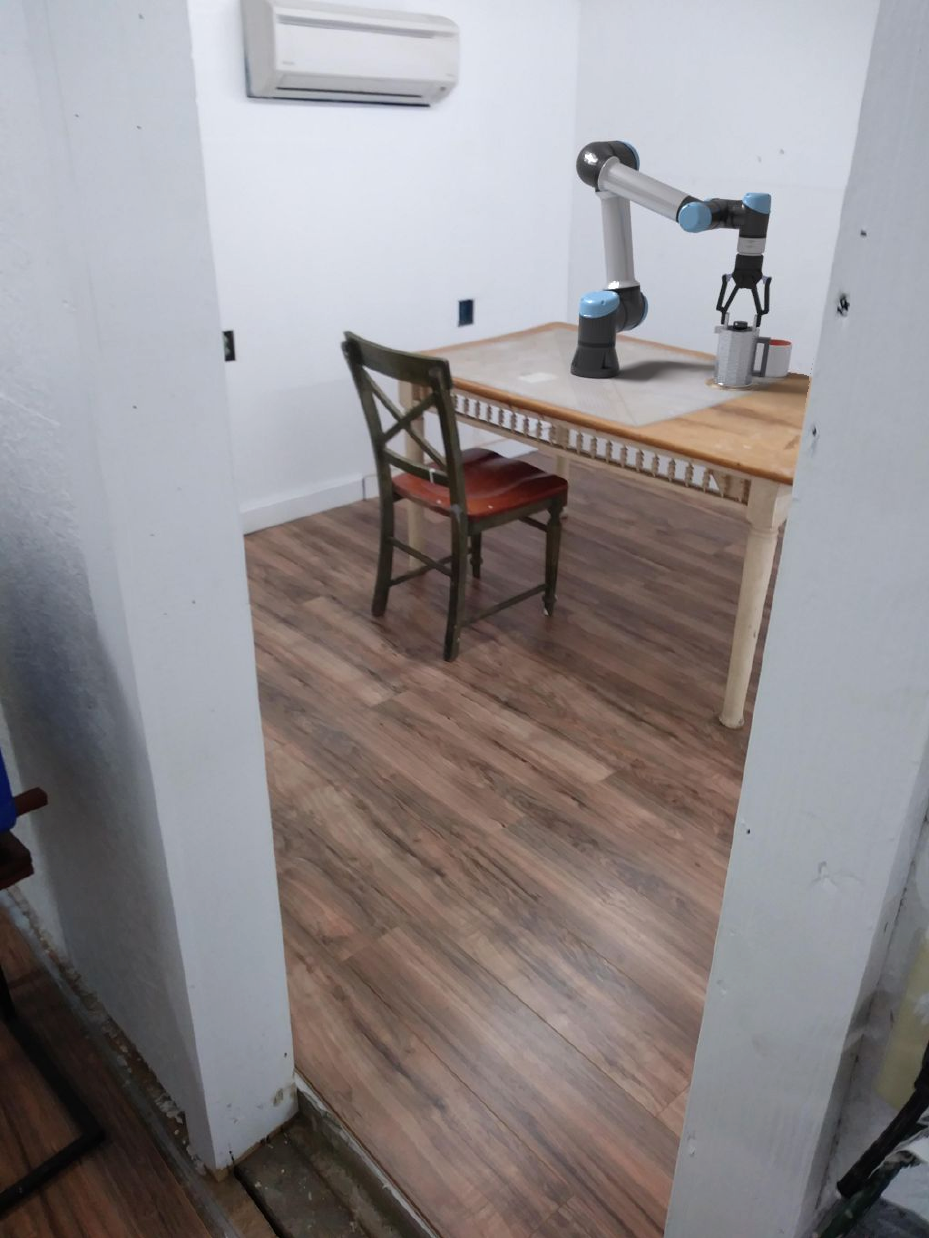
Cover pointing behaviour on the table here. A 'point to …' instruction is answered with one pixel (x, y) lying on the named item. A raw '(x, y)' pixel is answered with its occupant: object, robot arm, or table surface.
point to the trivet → (711, 384)
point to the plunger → (740, 325)
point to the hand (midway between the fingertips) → (738, 337)
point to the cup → (775, 358)
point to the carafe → (738, 357)
